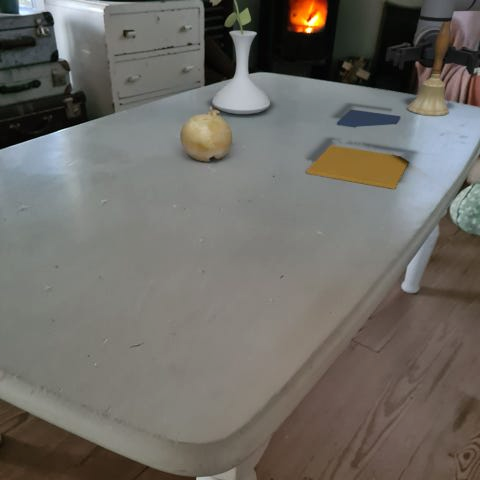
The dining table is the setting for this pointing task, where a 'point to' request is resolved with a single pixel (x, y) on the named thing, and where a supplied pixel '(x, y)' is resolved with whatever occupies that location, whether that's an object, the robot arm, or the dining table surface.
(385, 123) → the blue mat
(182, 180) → the dining table surface
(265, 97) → the flower in vase
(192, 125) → the onion
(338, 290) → the dining table surface
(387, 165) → the ochre mat
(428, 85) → the hand bell
